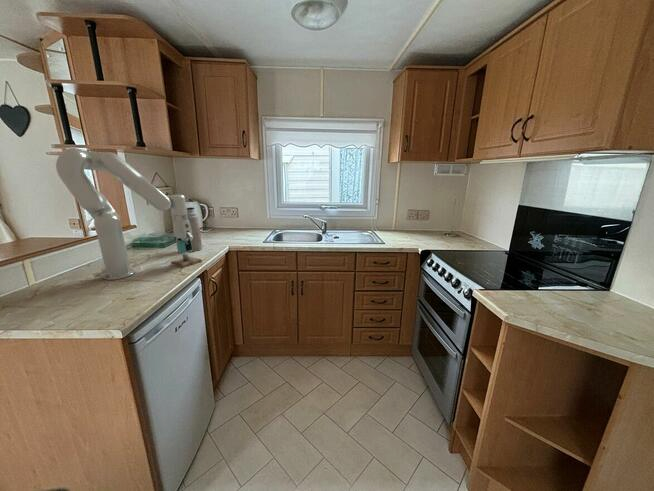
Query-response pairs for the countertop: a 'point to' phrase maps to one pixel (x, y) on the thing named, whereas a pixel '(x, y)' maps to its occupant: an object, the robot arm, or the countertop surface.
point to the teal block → (182, 246)
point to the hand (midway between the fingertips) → (185, 249)
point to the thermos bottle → (194, 229)
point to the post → (185, 256)
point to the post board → (186, 262)
